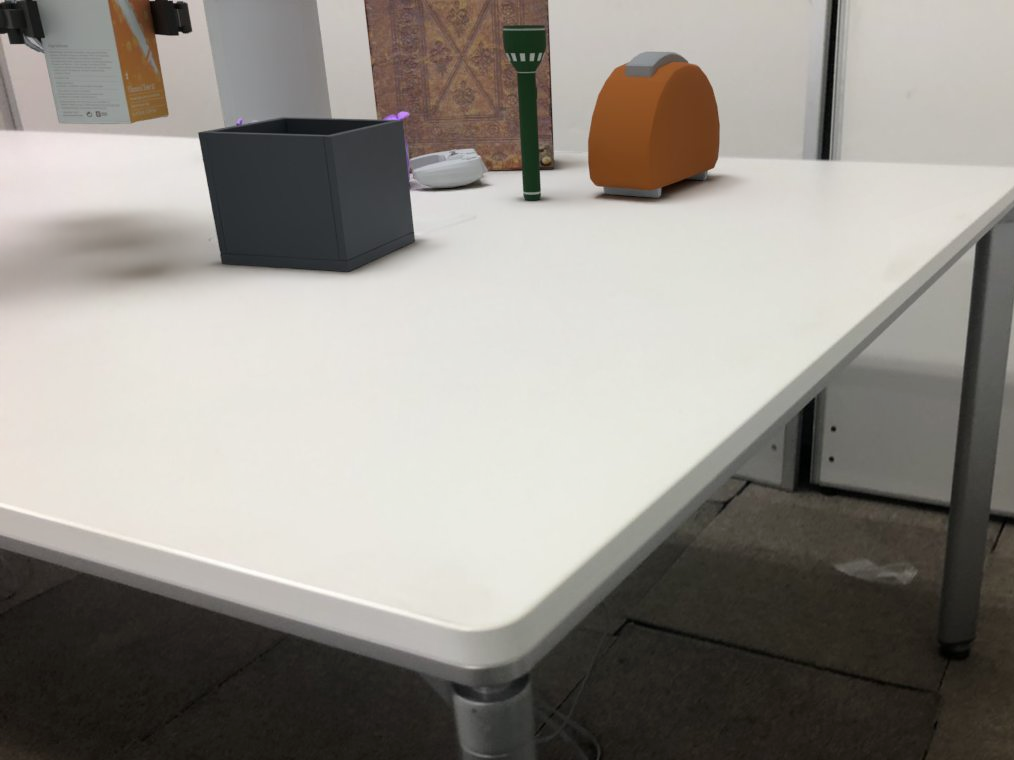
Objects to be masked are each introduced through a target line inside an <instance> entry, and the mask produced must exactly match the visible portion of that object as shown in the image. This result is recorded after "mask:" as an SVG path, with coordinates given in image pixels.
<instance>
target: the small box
mask: <svg viewBox="0 0 1014 760" xmlns="http://www.w3.org/2000/svg"><path fill="white" fill-rule="evenodd" d="M33 1H37V5H38V9H39V14H40V18H41V22H42V27H43V31H44V35H45V38H41V41H42V45H43V50H44V53H43V55H44V59H45V64H46V68H47V73H48V77H49V82H50V87H51V93H52V97H53V101H54V106H55V111H56V116H57V122H58V123H59V124H62V125H63V124H64V125H65V124H66V125H68V124H69V125H131V124H135V123H137V122H143V121H149V120H156V119H160V118H161V119H162V118H168V117H169V114H170V113H169V107H168V102H167V101H168V100H167V96H166V90H165V85H164V78H163V73H162V67H161V61H160V55H159V50H158V44H157V38H156V34H155V31H154V25H153V19H152V13H151V7H150V1H151V0H33Z"/></svg>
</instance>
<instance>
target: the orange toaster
mask: <svg viewBox="0 0 1014 760" xmlns="http://www.w3.org/2000/svg"><path fill="white" fill-rule="evenodd" d="M719 116H720V115H719V109H718V103H717V99H716V96H715V91H714V88H713V86H712V84H711V82H710V80H709V78H708V76H707V75H706V74H705V72H704V71H703V70H702V68H701V67H700V66H699V65H697V64H695V63H691V62H689V60H687V59H686V58H685V57H684V56H682V55H681V54H679V53H678V52H673V51H647V50H646V51H643V52H639V53H638V54H637V55H635V56H633V57H632V58H631V60H630V61H628V62H626V63H624V64H622V65H618V66H617V67H616V68H614V69H613V70H612V71H611V73H610V74H609V76H608V77H607V79H606V80H605V81H604V83H603V85H602V87H601V89H600V91H599V92H598V95H597V98H596V102H595V106H594V109H593V112H592V115H591V121H590V127H589V131H588V133H589V134H588V140H587V152H588V153H587V164H588V174H589V179H590V180H591V182H592V183H593V185H594V186H596V187H602V188H603V193H604V194H605V195H615V196H627V197H628V196H629V197H640V198H651V199H658V198H660V197H662V188H664V187H667V186H669V185H672V184H675V183H678V182H681V181H683V180H696V181H706V180H707V179H708V173H709V171H711V170H713V169H715V167H716V165H717V163H718V160H719V154H720V153H719V152H720V142H721V141H720V135H721V134H720V133H721V132H720V131H721V125H720V117H719Z"/></svg>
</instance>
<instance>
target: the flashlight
mask: <svg viewBox="0 0 1014 760" xmlns="http://www.w3.org/2000/svg"><path fill="white" fill-rule="evenodd" d="M503 46H504V50H505V53H506V55H507V58H508V60H509V61H510V63H511V64H512V65H513V67H514V68H515V70H516V71H517V83H518V102H519V121H520V140H521V159H522V169H521V176H522V192H523V193H522V194H523V195H522V196H523V198H524V200H526V201H538V200H540V199H541V198H542V193H541V191H542V188H541V187H542V186H541V169H540V162H539V140H538V118H537V87H536V74H535V71H536V70H537V68H538V66H539V65H540V63H541V61H542V60H543V57H544V54H545V50H546V30H545V26H543V25H513V26H503Z"/></svg>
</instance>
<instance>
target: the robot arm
mask: <svg viewBox="0 0 1014 760" xmlns="http://www.w3.org/2000/svg"><path fill="white" fill-rule="evenodd" d="M149 1H150V7H151V13H152V19H153V25H154V31H155V36H156V35H157V36H167V37H177V36H178V37H179V36H180V33H182V34H183V35H186V34H187V35H188V34H190V33H192V32H193V27H192V21H191V16H190V9H189V3H188V2H186V1H183V0H177V1H175V2H174V1H173V0H149ZM6 34H7V38H8V42H9V45H24V46H26V47H28V48H29V49H31V50H33V51H35V52H37V53H42V54H44V50H43V45H42V41H41V38H45V35H44V31H43V27H42V22H41V18H40V14H39V9H38V5H37V1H33V0H4V1H1V2H0V35H6Z"/></svg>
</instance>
